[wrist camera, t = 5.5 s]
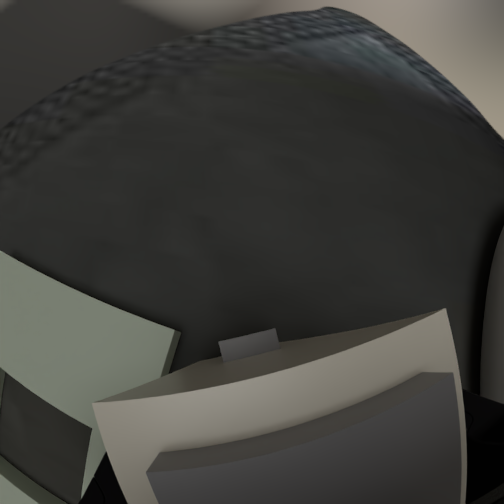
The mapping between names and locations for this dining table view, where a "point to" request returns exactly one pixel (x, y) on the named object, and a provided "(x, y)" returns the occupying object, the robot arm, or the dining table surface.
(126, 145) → the dining table surface
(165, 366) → the board
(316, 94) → the dining table surface
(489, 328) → the bowl
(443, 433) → the grey tall block
